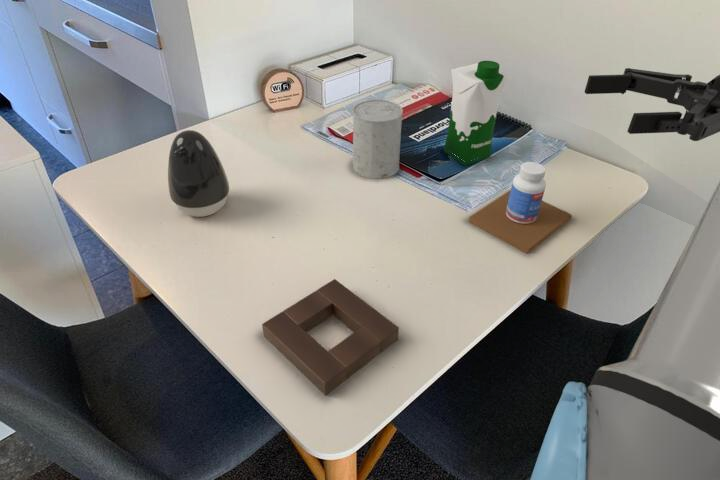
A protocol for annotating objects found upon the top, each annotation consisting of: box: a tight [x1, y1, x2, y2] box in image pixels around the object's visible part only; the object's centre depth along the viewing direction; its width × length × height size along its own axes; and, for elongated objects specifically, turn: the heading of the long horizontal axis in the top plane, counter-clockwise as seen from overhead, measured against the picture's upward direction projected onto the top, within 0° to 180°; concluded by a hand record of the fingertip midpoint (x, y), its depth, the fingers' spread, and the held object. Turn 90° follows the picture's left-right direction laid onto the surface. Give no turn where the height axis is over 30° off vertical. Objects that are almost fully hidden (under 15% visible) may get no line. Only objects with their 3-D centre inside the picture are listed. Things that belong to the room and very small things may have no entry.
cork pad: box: [468, 189, 573, 254], centre depth 92 cm, size 14×12×1 cm
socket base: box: [261, 278, 400, 396], centre depth 70 cm, size 13×13×2 cm
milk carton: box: [443, 60, 509, 167], centre depth 105 cm, size 9×9×20 cm
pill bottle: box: [506, 161, 547, 224], centre depth 89 cm, size 6×5×10 cm
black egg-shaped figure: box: [167, 129, 230, 218], centre depth 90 cm, size 10×10×15 cm
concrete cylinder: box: [352, 99, 404, 180], centre depth 103 cm, size 10×10×12 cm
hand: (607, 102), depth 76 cm, fingers open, 13 cm apart
